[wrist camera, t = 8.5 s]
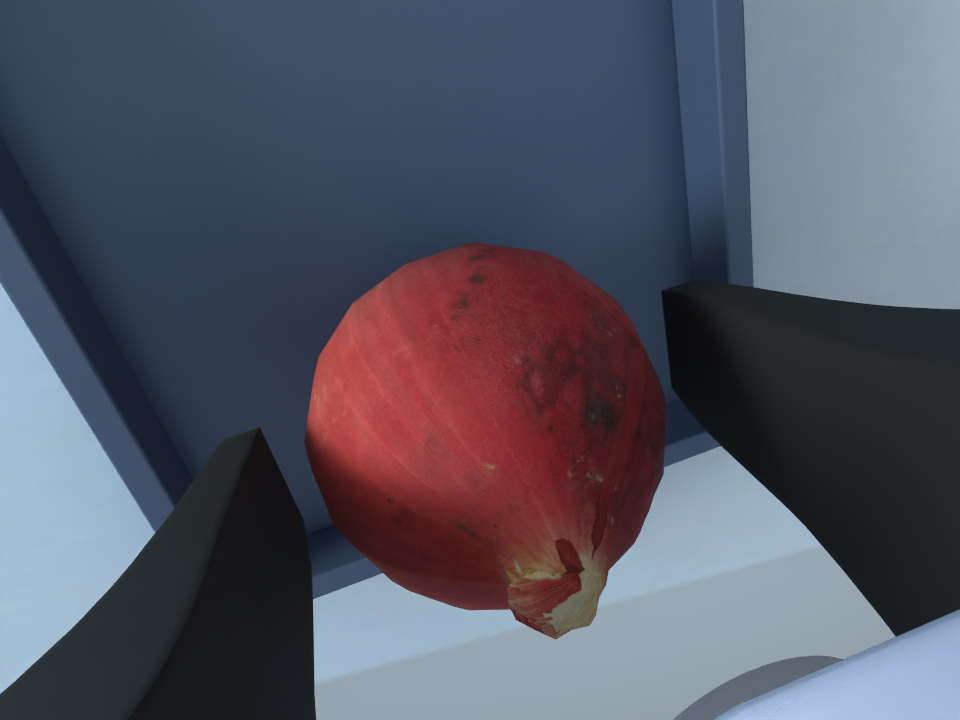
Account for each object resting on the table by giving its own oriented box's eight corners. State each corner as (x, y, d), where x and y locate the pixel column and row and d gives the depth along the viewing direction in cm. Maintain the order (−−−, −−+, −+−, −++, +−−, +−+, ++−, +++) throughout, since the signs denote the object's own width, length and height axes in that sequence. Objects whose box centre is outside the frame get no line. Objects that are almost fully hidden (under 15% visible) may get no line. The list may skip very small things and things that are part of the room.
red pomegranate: (400, 141, 13) (549, 274, 6) (613, 288, 15) (891, 501, 8) (248, 385, 14) (224, 730, 7) (468, 484, 17) (608, 809, 10)
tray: (713, 393, 18) (759, 432, 16) (224, 572, 17) (217, 636, 15) (656, -392, 11) (729, -472, 9) (-231, -217, 9) (-349, -274, 7)
